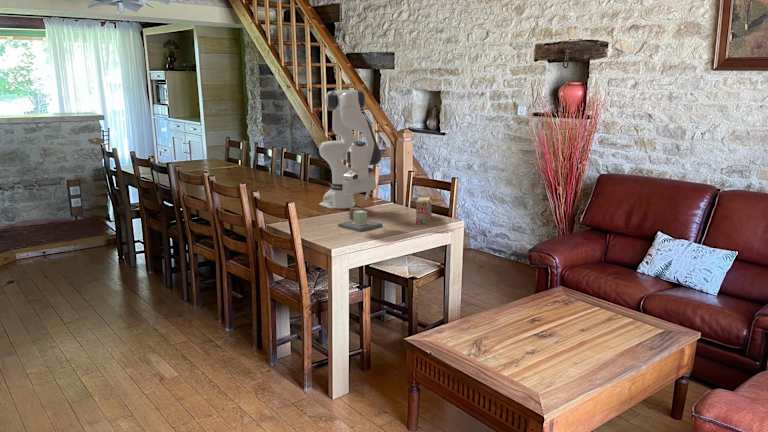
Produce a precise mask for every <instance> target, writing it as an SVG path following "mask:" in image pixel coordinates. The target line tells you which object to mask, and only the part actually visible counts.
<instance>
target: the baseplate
mask: <svg viewBox="0 0 768 432" xmlns="http://www.w3.org/2000/svg"><path fill="white" fill-rule="evenodd" d="M337 226H338V227H339V228H343V229H346V230H350V231H351V230H352V231H355V232H364V231H367V230H373V229H376V228H381V227H383V223H382V222H378V221H374V220H369V219H367V223H365V224H361V225H360V224H355V223H353V220H348V221H344V222H340V223H339V222H338V224H337Z"/></svg>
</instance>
